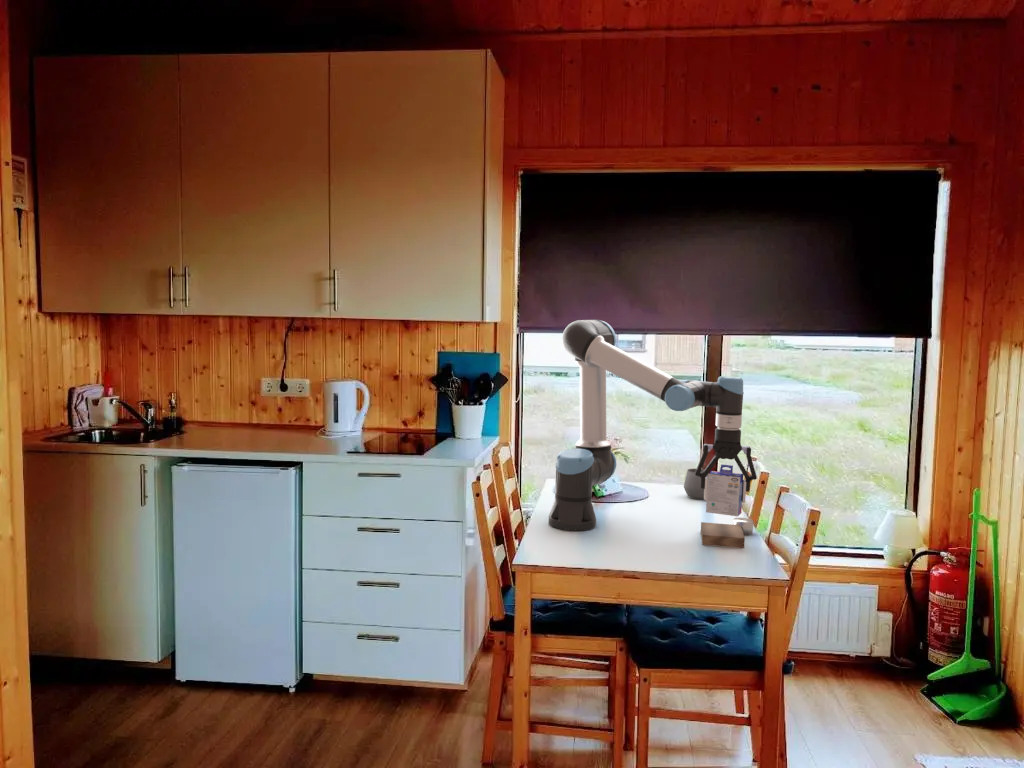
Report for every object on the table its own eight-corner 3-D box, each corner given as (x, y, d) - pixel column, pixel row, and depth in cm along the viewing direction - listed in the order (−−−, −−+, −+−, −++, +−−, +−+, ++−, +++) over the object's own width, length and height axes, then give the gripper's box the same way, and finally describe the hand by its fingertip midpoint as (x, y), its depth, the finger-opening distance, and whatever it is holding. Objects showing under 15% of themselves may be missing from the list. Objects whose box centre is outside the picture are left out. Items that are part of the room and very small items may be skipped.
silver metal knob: (733, 534, 250) (734, 522, 249) (732, 529, 255) (732, 516, 255) (753, 536, 248) (754, 523, 248) (751, 530, 254) (752, 518, 254)
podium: (702, 544, 238) (702, 534, 238) (700, 531, 252) (701, 522, 251) (744, 548, 236) (744, 538, 235) (740, 534, 249) (740, 525, 249)
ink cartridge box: (742, 513, 243) (744, 466, 241) (739, 517, 238) (741, 469, 236) (709, 508, 247) (711, 462, 246) (705, 513, 242) (707, 465, 241)
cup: (678, 494, 298) (680, 468, 297) (700, 493, 301) (702, 467, 300) (691, 501, 290) (693, 474, 288) (714, 499, 292) (716, 473, 291)
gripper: (689, 427, 238) (685, 500, 241) (769, 432, 234) (765, 506, 236) (688, 424, 246) (685, 494, 248) (766, 428, 241) (762, 500, 244)
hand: (724, 500), depth 242 cm, fingers closed on ink cartridge box, 10 cm apart
